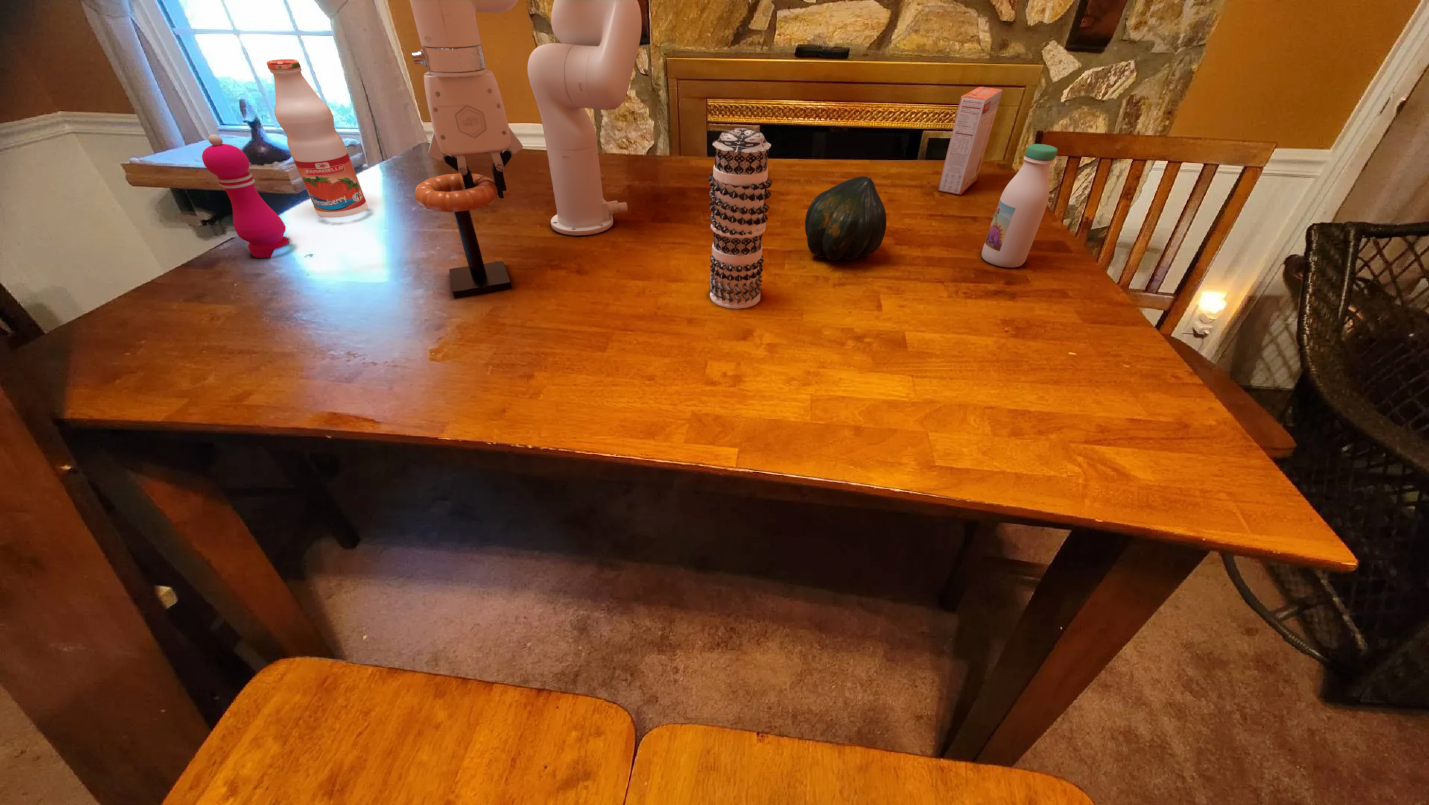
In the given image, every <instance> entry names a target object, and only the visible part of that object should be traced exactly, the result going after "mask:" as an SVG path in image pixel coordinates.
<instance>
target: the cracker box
mask: <svg viewBox="0 0 1429 805" xmlns="http://www.w3.org/2000/svg"><path fill="white" fill-rule="evenodd" d="M1002 93H1003V89H1001V88H994V87H987V86H978V87H976V88H974V89H973V90H970V91H969V92H967V93H965V94H963V95H961V96H960V100H959V103H958V108H957V111H956V115H955V120H954V123H953V128H952V131H951V136H950V139H949V140H950V141H949V144H948V148H947V152H946V156H945V160H944V163H943V167H942V172H941V178H940V181H939V184H938V189H937V191H938V192H941V193H947V194H952V195H957V196H961V195H962V194H964V193H965V191H967V190H968V189H969V188H970V187H971V186H972V185H973V184H974V183H975V182H976V181H977V179H978V176H979V172H980V170H981V166H982V162H983V159H984V155H985V153H986V149H987V145H988V142H989V138H990V135H991V132H992V127H993V124H994V120H995V117H996V114H997V111H998V107H999V104H1000V100H1001V96H1002Z"/></svg>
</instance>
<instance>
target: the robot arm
mask: <svg viewBox="0 0 1429 805" xmlns="http://www.w3.org/2000/svg"><path fill="white" fill-rule="evenodd" d="M518 2H519V0H409V3H410V8H411V12H412V14H413V18H414V19H413V20H414V22H415V27H416V31H417V35H418V38H419V41H420V45H421V48H420V49H419V50H417V51H412V52H411V56H412V60H413V63H414V65H421V66H424V67H425V68H427V72H425V73H423V85H424V86H423V87H424V92H425V98H426V104H427V108H428V112H429V117H430V121H431V122H430V123H431V126H432V130H433V131H432V136H431V140H430V143H429V147H428V151H427V152H428V156H429V157H430V158H431V159H435V160H437V161H439V162H442V163H444V164H446V165H448V166H449V167H451V168H452V169H453V170H454V171H456V172H458V173H460V174H461V175H462V178H463V182H464V186H465V190H467V189H470V188H474V187H475V185H474V181H473V177H472V174H473V173H472V170H470V168H469V166H468V165H467V157H466V155H472V154H483V153H489V154H490V157H491V159H492V164H491V167H492V168H491V172H492V178H493V181H494V183H495V185H496V187H497V191H498V194H497V196H498V198H499V199H505V196H504V192H506V191H508V189H507V185H506V180H505V176H504V171H505V167H506V166H507V164H508V163H509V161H510V160H511V158H512V157H514V156H516V155H517V154H519V152H521V151H522V150H523V149H524V145H523V143H522V142H521V140H520V139H519V138H518V137H517V135H516V134H515V133H514V132H513V130H512V129H511V128H510V126H509V122H508V121H509V120H508V117H507V113H506V109H505V105H504V100H503V97H502V94H501V90H500V88H499V85H498V84H499V83H498V82H497V79H496V76H495V73H494V72H493V71H492V70H490V69H488V68H487V64H486V59H485V55H484V50H483V45H482V41H481V36H480V31H479V27H478V22H477V16H476V13H486V14H500V13H502V14H503V13H506V12H508V11H509V10H511V9H513V8H514V7H515V6H516V5H517V3H518ZM642 22H643V21H642V11H641V7H640V4H639V1H638V0H553V4H552V9H551V16H550V26H551V30H552V33H553V35H554V37H555V38H556V39H557V40H558V41H559V43H558V42H551V43H545V44H542V45H541V44H540V45H539V46H537V47H536V48H535V49H533V50H532V51H531V53H530V54H529V57H528V61H527V76H528V80H529V81H528V82H529V84H530V88H531V90H532V94H533V96H534V100H535V102H536V104H537V108H538V112H539V115H540V120H541V125H542V130H543V136H544V142H545V147H546V148H545V149H546V154H547V159H548V165H549V172H550V178H551V185H552V191H553V196H554V203H555V208H556V214H555V215H553V217H552V218H551V219H550V225H551V226H550V227H551V229H553V230H554V231H555V232H557V233H559V234H561V235H568V236H589V235H595V234H599V233H602V232H605V231H607V230H608V229H610V228H612V226H613V225H614V217H613V215H614V214H615V213H618V214H619V213H620V214H621V213H627V212H628V211H629V210H628V204H627V201H623V202H618V200H611V201H607V200H605V198H604V192H603V183H602V176H601V167H600V166H601V165H600V156H599V148H598V139H597V138H598V137H597V132H596V128H595V126H594V122H593V121H592V119H591V117H590V115H589V113H587V112H588V111H587V110H586V109H591V110H603V111H613V110H616V109H618V108H620V107H621V106H622V104H623V103H624V101H625V99H626V97H627V94H628V91H629V87H630V84H631V80H632V76H633V72H634V66H635V64H636V59H637V57H638V56H637V55H638V51H639V48H640V44H641V38H642V37H641V36H642V27H643V26H642V25H643V24H642Z"/></svg>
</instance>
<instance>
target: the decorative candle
mask: <svg viewBox="0 0 1429 805" xmlns="http://www.w3.org/2000/svg"><path fill="white" fill-rule="evenodd" d="M712 146H713V147H714V164H713V166H712V170H713V171H712V172H711V173H710V176H709V177H708V185H709V187H711V188H710V191H709V193H708V195H709V199H710V201H709V204H708V205H709V210H710V211H711V215H710V216H709V220H710V229H711V230H712V232H713V242H712V245H711V254H710V256H709V259H710V263H711V264H709V267H710V268H709V269H710V274H709V291H710V293H709V298H710V300H711V301H712V302H713V303H714V304H715V305H718V306H719V307H722V308H726V309H737V310H740V309H749V308H751V307H752V306H755V305H757V304H758V303H759V302H760V301H761V291H762V283H763V279H762V278H763V275H762V273H763V271H764V268H763V264H764V261H765V259H764V255H763V244H762V243H763V242H762V241H763V233H764V232H766V227H767V224H766V222H767V221H768V220H769V217H768V215H767V214H765V213H767V212H769V208H770V206H769V205H768V204H767V203H766V202H765V201H766V200H767V199H769V198H770V197H772V192H770V190H768V189H769V188H770V187H772V185H773V181H772V180H771V179H770V178H769V177H768V176H769V166H768V160H769V149H770V148H771V146H772V144H771V143H769V141H767V140H766V138H765V135H764V134H763V133H762V132H761V131H759V130H757V129H753V128H742V127H741V128H740V127H737V128H730V129H726V130H724V131H722V132H721V133H720V135H719V137H718V139H717V140H714V141H713V142H712Z"/></svg>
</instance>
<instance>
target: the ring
mask: <svg viewBox="0 0 1429 805" xmlns="http://www.w3.org/2000/svg"><path fill="white" fill-rule="evenodd" d="M471 174H472V177H473V181H474V185H475V187H474V188H470V189H467V190H465V186H464V182H463V178H462V175H461V174H460V173H459V172H458V173H448V174H447V173H446V174H441V175H438V176H434V177H430V178H427V179H425V180H424V181H422V182H420V183H419V184H418V185H416V187H415V191H414V193H415V194H414V196H415V200H416V203H418V205H420V206H421V207H423V208H425V209H428V210H430V211H433V212H441V213H453V212H458V211H467V210H470V211H472V210H475V209H478V208H482V207H485V206H488V205H489V204H490V203H492V202H494V200H495V199H497V196H498V191H497V187H496V185H495V182H494V179H492V178H490V177H488V176H486V175H482V174H479V173H471Z"/></svg>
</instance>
